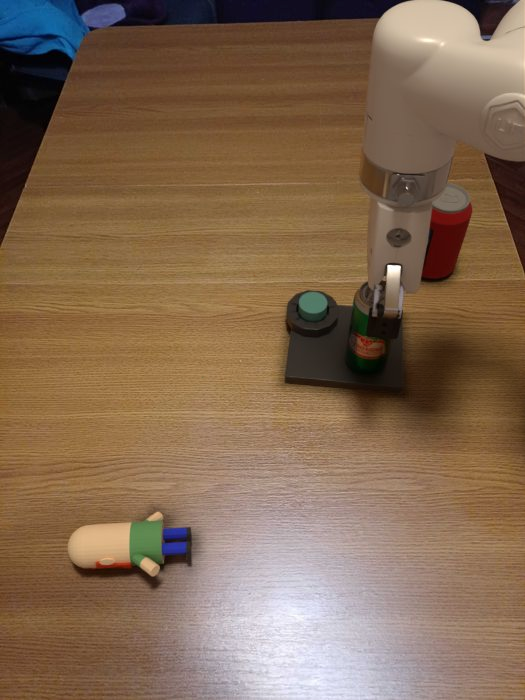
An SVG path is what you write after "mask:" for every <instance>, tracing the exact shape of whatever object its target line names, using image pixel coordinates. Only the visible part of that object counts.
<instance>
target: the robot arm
mask: <svg viewBox="0 0 525 700" xmlns="http://www.w3.org/2000/svg"><path fill="white" fill-rule="evenodd" d="M481 36H482V35H481V30H480V25H479V23H478V20H477V19H476V17H475V15H474V14H472V13H471V12H470V11H469V10H468V9H466V8H464V7H463V6H462V5H459V4H457V3H454V2H452V1H451V2H450V1H446V0H407V1H404V2H403V1H402V2H400V3H398V4H396V5H394V6H392V7H390V8H389V9H388V10H386V11H385V12H384V13H383V14H382V15H381V17H380V18H379V20H377V22H376V25H375V28H374V29H373V34H372V40H371V49H370V57H369V58H370V60H369V69H368V80H367V89H366V90H367V91H366V99H365V110H364V121H363V132H362V142H361V151H360V161H359V162H360V163H359V170H358V182H359V186H360V187H361V189H362V191H363V192H364V193H365V194H366V195H367V196H368V197H369V207H368V217H367V232H366V233H367V235H366V237H367V239H366V241H367V242H366V253H367V254H366V255H367V261H366V262H367V281H368V286H369V288H370V289H371V290H373V291H374V296H373V307H372V308H369V315H368V322H367V328H366V336H367V337H372V338H380V339H397V338H398V334H399V330H400V325H401V320H402V316H403V317H404V310H403V305H404V297H405V293H406V294H413V295H414V294H416V293H418V291H419V290H420V287H421V281H422V276H421V275H422V269H423V264H424V258H425V253H426V247H427V242H428V236H429V229H430V222H431V213H432V203H433V201H435V200H436V199H438V198H439V197H440V196H441V195H442V194H443V192H444V191H445V189H446V185H447V183H448V181H449V176H450V172H451V170H452V169H451V168H452V164H453V160H454V156H455V155H454V154H455V151H456V146H457V143H458V142H460V143H462V144H465V145H467V146H468V147H470V148H473V149H475V150H477V151H479V152H481V153H484V154H486V155H488V156H490V157H493V158H497V159H500V160H504V161H510V162H525V0H519V1H517V2H516V3H515V4H514V5H513V6H512V7H511V8H510V9H509V10H508V11H507V13H505V15H504V16H503V17H502V19H501V20H500V22H499V23H498V25H497V27H496V29H495V30H494V32H493V34H492V36H491V37H490V39H489V40H484V39H483V38H482V37H481ZM384 277H385V280H384ZM382 280H384V281H385V284H383V283H380V282H381V281H382ZM380 291H385V296H384V304H383V305H381V304H379V297H380Z"/></svg>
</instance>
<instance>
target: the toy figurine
mask: <svg viewBox="0 0 525 700" xmlns="http://www.w3.org/2000/svg"><path fill="white" fill-rule="evenodd" d="M164 519H165V518H164V515H163V514H162V512H160V511H155V512H154V513H153V514H151V515H150V516H148V517H147V518H146V519H144V520H143V521H131V522H130V521H129V522H126V521H125V522H114V523H113V522H112V523H110V522H109V523H97V524H95V523H94V524H85V525H83V526H80V527H79V528H77V529H76V530H74V531H73V532H72V534H71V536H70V537H69V539H68V541H67V547H66V549H67V555H68V557H69V559H70V561H71V562H72V563H73V564H74V565H75V566H76V567H79V568H82V569H91V570H96V569H110V568H111V569H114V568H123V569H133V568H134V566H137V567H139V568H140V569H141V570H142V571H144V572H145V573H146V574H148V575H149V576H150V577H155V576H157V575H158V573H159V572H160V570H161V567H160V565H163V564H165V558H166V557H165V556H173V555H174V556H175V555H186V562H188V563H189V562H192V546H193V544H192V543H193V542H192V538H193V537H192V527H191V526H188V527H187V526H186V527H169V528H165V522H164ZM175 540H177V541H176V542H166V541H175ZM178 540H186V541H178Z"/></svg>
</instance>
